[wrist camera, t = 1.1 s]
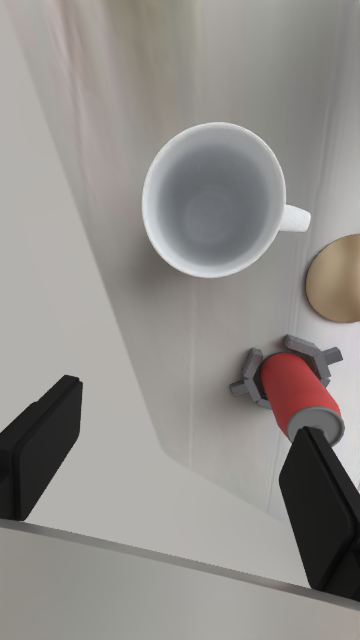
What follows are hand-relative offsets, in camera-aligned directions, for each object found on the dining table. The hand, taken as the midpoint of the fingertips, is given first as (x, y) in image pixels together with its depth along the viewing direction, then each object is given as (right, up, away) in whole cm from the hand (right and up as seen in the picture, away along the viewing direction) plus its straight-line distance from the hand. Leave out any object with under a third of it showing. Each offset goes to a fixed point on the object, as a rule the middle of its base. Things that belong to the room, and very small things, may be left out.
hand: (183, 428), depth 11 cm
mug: (+5, +17, +21) cm, 27 cm away
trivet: (+21, +10, +21) cm, 32 cm away
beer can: (+15, -3, +26) cm, 30 cm away
